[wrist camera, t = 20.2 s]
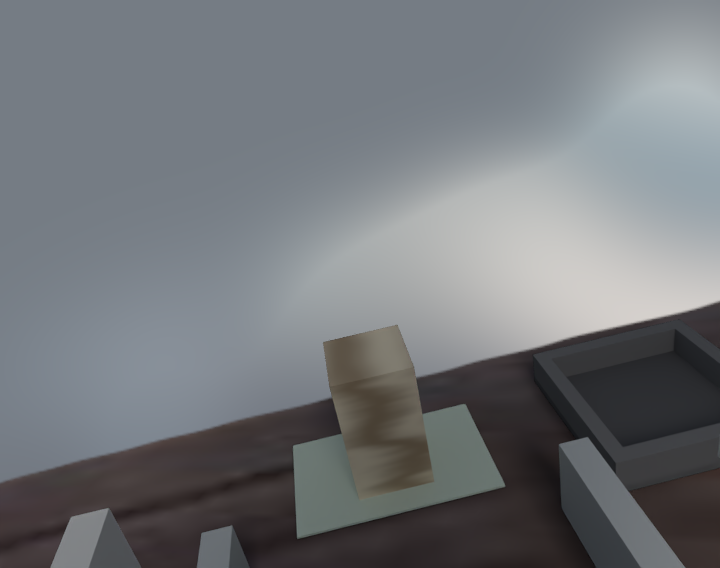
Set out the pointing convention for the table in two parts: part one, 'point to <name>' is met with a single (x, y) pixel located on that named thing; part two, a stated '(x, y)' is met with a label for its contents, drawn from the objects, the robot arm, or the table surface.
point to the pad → (343, 508)
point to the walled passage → (578, 501)
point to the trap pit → (640, 400)
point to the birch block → (379, 411)
